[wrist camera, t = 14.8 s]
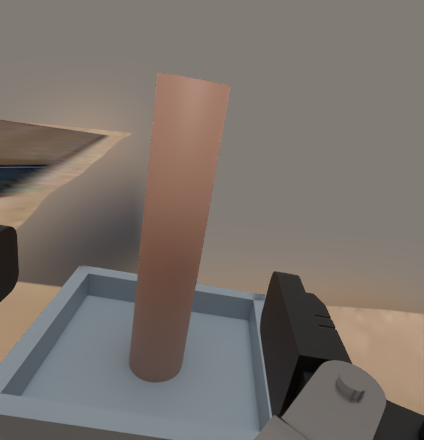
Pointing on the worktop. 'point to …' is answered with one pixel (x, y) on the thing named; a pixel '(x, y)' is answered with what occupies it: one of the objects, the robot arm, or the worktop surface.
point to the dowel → (174, 219)
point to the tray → (122, 374)
